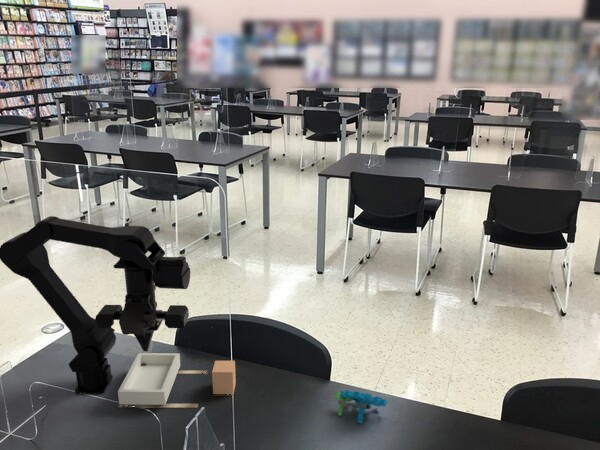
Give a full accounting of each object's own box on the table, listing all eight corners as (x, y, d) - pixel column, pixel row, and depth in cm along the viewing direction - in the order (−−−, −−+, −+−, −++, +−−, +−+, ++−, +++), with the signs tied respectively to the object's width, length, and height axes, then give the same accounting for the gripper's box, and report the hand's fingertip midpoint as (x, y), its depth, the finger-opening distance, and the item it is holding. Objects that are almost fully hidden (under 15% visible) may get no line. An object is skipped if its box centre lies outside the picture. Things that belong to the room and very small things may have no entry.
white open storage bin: (119, 407, 109) (117, 391, 108) (139, 367, 123) (138, 353, 122) (165, 407, 109) (164, 391, 108) (180, 367, 123) (179, 353, 122)
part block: (213, 395, 114) (212, 372, 112) (216, 383, 118) (215, 360, 116) (233, 395, 114) (232, 372, 112) (235, 383, 118) (234, 360, 116)
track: (117, 407, 109) (117, 406, 109) (136, 370, 122) (136, 370, 122) (197, 408, 110) (197, 407, 110) (207, 371, 123) (207, 370, 122)
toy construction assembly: (392, 402, 110) (381, 391, 102) (388, 431, 107) (376, 422, 99) (344, 394, 114) (329, 384, 106) (339, 422, 112) (324, 413, 104)
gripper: (80, 303, 100) (90, 371, 105) (175, 303, 101) (180, 372, 105) (101, 279, 111) (108, 342, 116) (187, 280, 111) (191, 343, 116)
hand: (146, 350), depth 113 cm, fingers closed
